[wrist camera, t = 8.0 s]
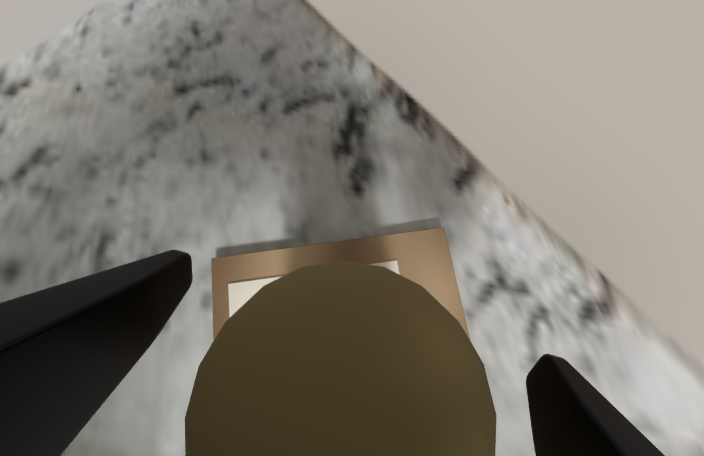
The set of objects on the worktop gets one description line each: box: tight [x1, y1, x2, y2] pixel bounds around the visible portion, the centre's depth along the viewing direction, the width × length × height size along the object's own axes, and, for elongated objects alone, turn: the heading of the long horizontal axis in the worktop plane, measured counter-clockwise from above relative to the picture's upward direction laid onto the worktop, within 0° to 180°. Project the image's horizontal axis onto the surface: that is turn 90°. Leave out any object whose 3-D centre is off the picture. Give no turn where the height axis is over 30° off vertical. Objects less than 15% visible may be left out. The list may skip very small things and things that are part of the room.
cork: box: [185, 260, 496, 456], centre depth 9 cm, size 6×6×11 cm
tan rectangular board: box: [212, 227, 470, 340], centre depth 15 cm, size 12×10×1 cm
